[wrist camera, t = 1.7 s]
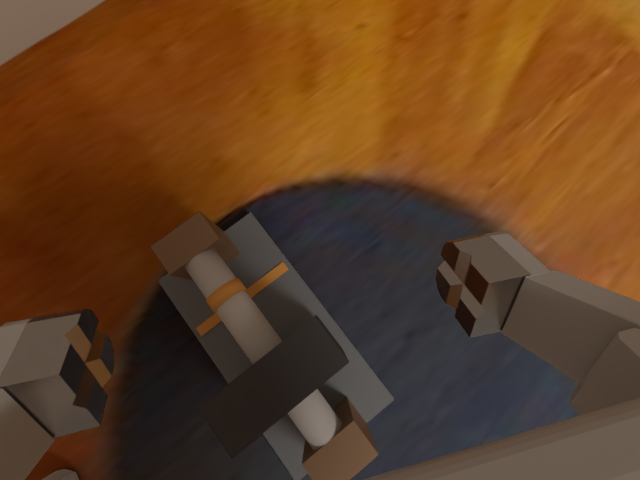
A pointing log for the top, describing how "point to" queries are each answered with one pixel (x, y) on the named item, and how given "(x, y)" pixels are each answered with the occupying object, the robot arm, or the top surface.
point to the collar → (273, 385)
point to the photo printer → (62, 475)
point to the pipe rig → (270, 338)
